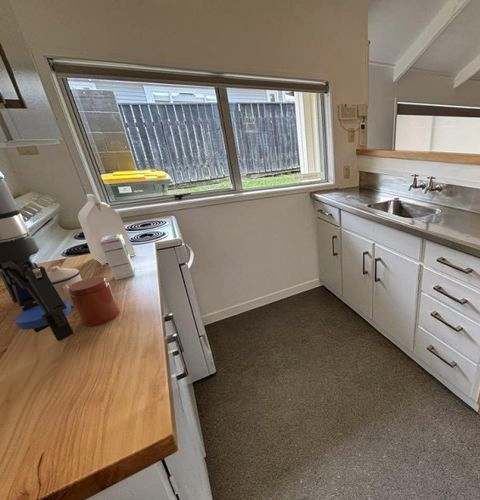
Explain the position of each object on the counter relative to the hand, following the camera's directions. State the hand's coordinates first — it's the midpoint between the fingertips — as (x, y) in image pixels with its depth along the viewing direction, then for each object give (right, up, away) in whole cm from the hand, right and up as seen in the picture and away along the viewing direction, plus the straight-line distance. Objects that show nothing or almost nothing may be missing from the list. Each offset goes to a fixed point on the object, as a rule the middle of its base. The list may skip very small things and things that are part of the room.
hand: (54, 332), depth 64 cm
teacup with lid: (-16, +3, +20) cm, 26 cm away
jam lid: (0, +5, -2) cm, 5 cm away
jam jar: (-1, 0, +13) cm, 13 cm away
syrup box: (-13, +10, +37) cm, 40 cm away
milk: (-31, +16, +54) cm, 64 cm away
